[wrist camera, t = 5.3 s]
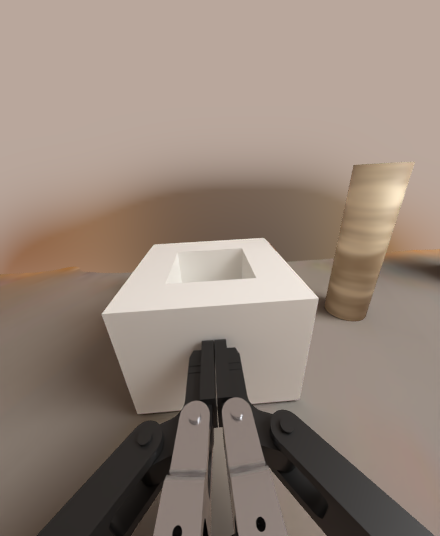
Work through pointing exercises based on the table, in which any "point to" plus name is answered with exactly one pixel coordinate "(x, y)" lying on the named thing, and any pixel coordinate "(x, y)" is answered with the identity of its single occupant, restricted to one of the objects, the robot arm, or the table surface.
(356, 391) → the table surface
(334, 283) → the wooden dowel
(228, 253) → the sliding block
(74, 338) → the table surface
